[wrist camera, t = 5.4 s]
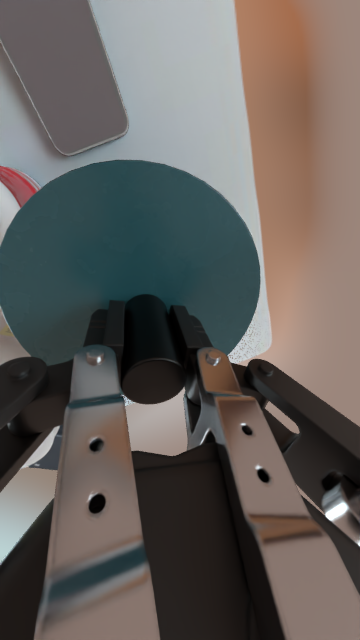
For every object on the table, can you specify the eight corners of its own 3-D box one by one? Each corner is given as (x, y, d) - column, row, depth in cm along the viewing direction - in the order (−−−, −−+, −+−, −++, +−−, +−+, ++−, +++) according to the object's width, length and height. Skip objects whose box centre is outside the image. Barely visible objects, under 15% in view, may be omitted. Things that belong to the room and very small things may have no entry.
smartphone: (60, 159, 20) (-113, -174, 11) (62, 160, 21) (-98, -152, 12) (133, 131, 20) (15, -224, 11) (133, 132, 21) (22, -199, 12)
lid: (-32, 116, 7) (-369, -22, 2) (289, 198, 11) (422, 213, 6) (31, 385, 14) (-22, 496, 9) (216, 380, 18) (251, 458, 13)
